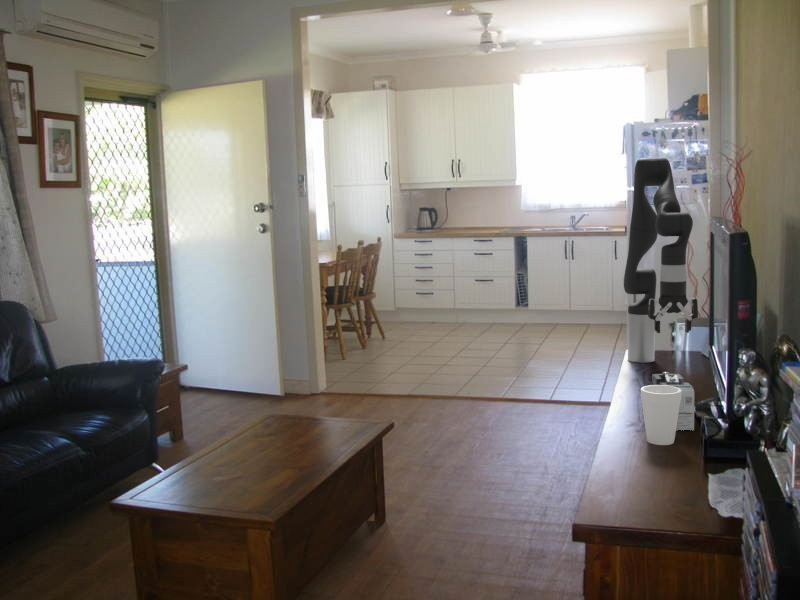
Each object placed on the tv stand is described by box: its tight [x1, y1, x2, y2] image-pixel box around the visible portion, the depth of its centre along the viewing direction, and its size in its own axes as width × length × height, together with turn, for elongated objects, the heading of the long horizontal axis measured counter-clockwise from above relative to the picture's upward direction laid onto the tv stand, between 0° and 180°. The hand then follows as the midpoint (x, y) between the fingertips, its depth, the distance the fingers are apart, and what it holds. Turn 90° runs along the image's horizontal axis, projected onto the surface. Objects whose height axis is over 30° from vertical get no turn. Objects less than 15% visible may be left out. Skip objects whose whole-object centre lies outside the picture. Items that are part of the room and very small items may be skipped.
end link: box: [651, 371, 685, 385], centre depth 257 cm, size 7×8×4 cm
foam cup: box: [640, 384, 682, 446], centre depth 201 cm, size 10×9×13 cm
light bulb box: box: [647, 384, 695, 432], centre depth 212 cm, size 11×7×11 cm, turn 84°
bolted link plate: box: [665, 373, 679, 385], centre depth 251 cm, size 10×3×4 cm, turn 165°
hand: (672, 332), depth 249 cm, fingers open, 8 cm apart
